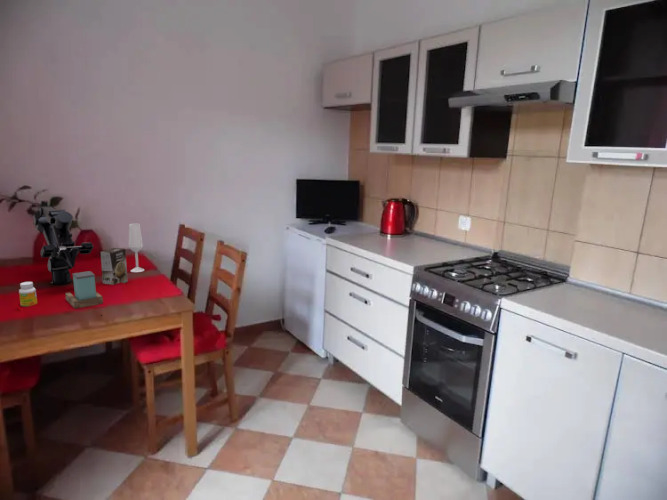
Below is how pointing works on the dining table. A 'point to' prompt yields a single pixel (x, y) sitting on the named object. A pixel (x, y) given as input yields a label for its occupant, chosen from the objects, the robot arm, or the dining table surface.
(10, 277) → the dining table surface
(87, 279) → the grey teal box
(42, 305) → the dining table surface
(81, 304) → the walnut track
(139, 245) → the champagne flute
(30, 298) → the supplement bottle
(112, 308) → the dining table surface
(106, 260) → the coffee box
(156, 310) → the dining table surface
